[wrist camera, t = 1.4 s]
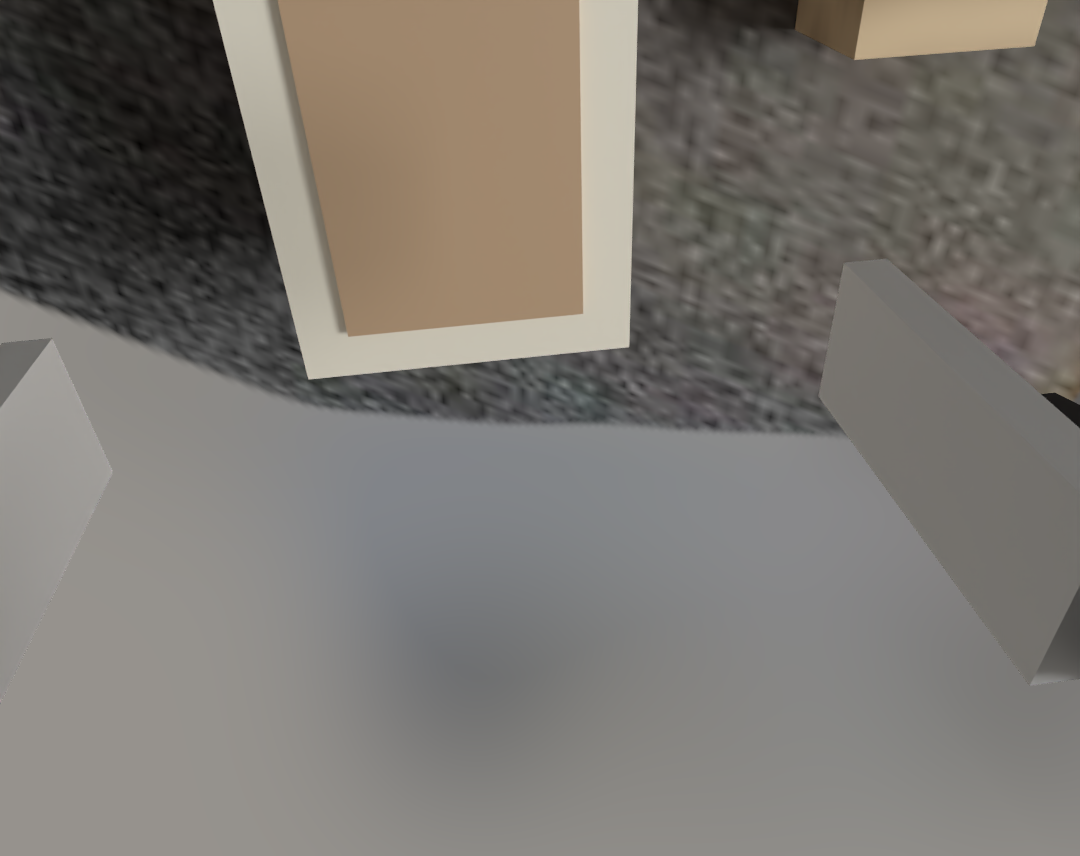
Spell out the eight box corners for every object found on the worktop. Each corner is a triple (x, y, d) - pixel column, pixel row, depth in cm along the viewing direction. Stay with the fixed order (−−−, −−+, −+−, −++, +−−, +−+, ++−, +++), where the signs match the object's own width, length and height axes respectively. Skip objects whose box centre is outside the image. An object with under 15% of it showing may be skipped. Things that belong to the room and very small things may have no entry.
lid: (214, -89, 20) (188, -81, 17) (619, -114, 20) (643, -107, 18) (316, 340, 27) (307, 384, 25) (614, 311, 27) (631, 351, 25)
